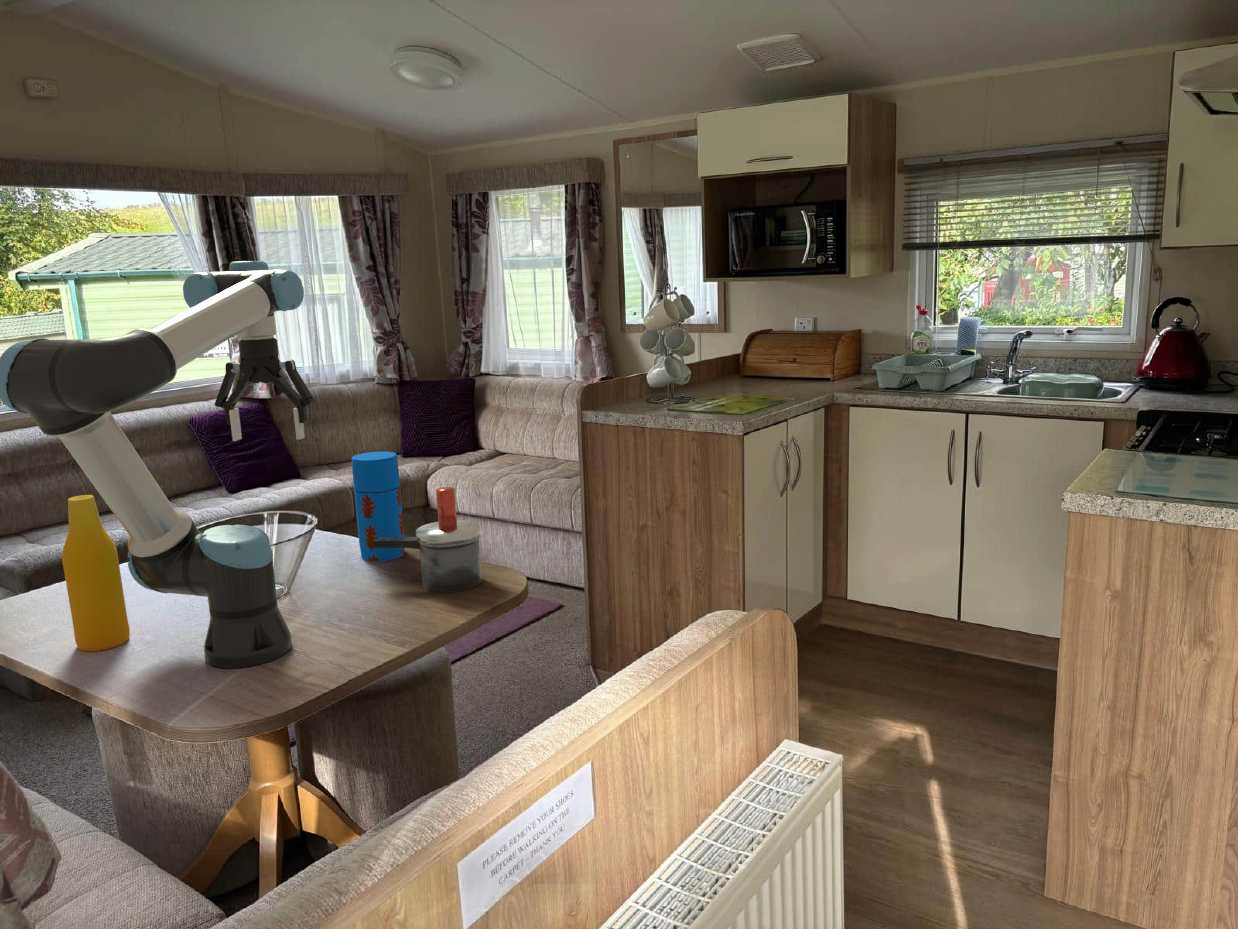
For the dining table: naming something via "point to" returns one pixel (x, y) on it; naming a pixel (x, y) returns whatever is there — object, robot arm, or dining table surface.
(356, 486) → the thermos
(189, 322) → the robot arm
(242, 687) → the dining table surface
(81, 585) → the beer bottle
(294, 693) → the dining table surface
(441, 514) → the lid
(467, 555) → the pot
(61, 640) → the dining table surface
